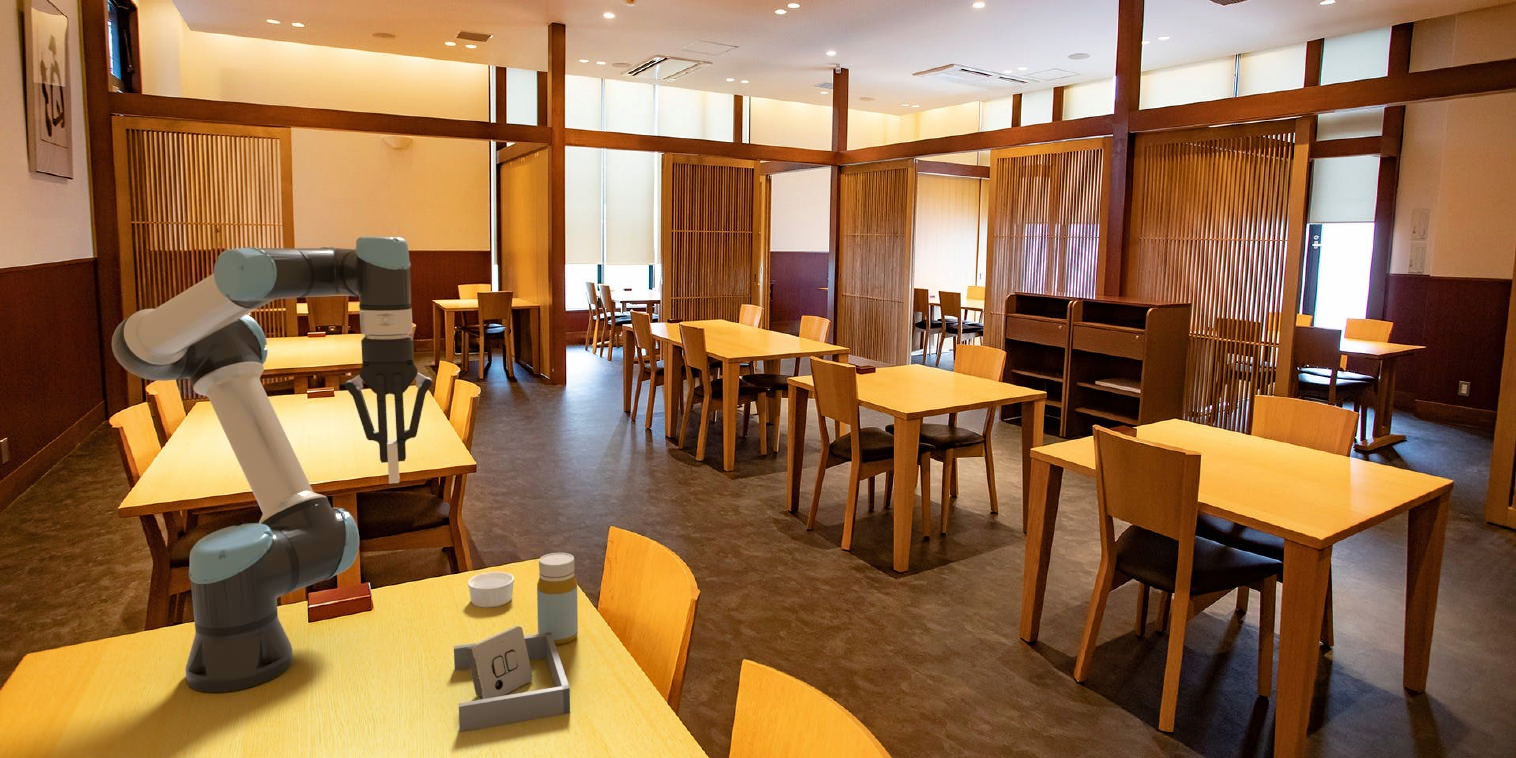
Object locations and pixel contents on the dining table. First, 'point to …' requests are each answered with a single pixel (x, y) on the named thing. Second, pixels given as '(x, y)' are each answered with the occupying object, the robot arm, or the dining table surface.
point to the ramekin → (491, 589)
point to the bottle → (557, 597)
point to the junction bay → (520, 703)
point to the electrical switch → (500, 663)
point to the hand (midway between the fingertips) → (394, 480)
